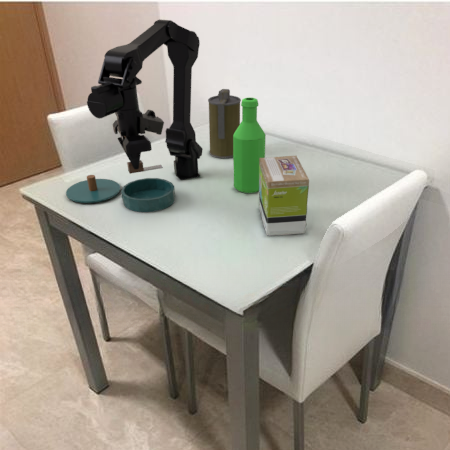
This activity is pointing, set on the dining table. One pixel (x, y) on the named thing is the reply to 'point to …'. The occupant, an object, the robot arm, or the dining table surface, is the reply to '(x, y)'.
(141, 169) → the knife
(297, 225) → the tea box
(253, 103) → the bottle
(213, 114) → the canister
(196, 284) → the dining table surface
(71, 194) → the lid
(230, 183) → the dining table surface
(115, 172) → the dining table surface
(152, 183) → the pot
